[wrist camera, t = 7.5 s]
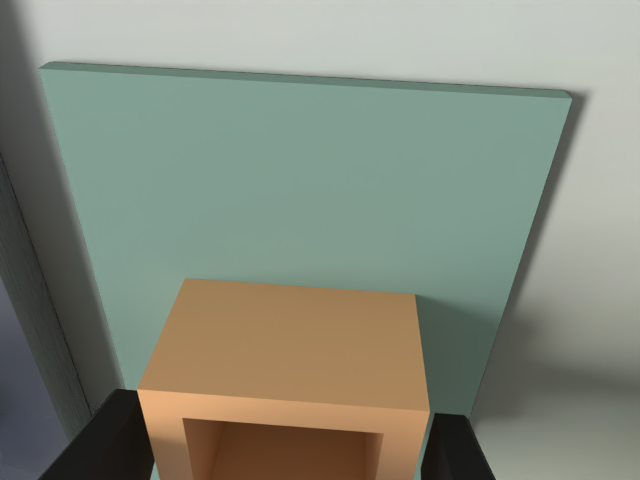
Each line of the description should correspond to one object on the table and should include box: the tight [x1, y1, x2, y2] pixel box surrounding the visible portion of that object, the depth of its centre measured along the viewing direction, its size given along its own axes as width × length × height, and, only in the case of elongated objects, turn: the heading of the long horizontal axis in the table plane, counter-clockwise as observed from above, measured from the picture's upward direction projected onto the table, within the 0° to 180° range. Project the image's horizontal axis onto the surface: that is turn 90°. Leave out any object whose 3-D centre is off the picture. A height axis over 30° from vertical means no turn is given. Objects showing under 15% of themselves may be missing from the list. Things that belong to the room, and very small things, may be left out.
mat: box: [38, 62, 572, 480], centre depth 13 cm, size 14×9×1 cm, turn 178°
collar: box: [137, 278, 430, 480], centre depth 12 cm, size 5×5×3 cm
